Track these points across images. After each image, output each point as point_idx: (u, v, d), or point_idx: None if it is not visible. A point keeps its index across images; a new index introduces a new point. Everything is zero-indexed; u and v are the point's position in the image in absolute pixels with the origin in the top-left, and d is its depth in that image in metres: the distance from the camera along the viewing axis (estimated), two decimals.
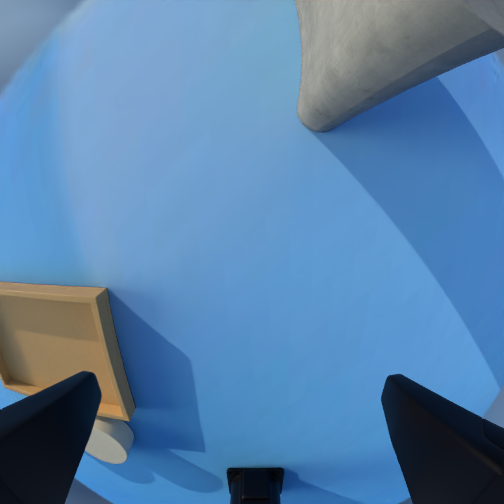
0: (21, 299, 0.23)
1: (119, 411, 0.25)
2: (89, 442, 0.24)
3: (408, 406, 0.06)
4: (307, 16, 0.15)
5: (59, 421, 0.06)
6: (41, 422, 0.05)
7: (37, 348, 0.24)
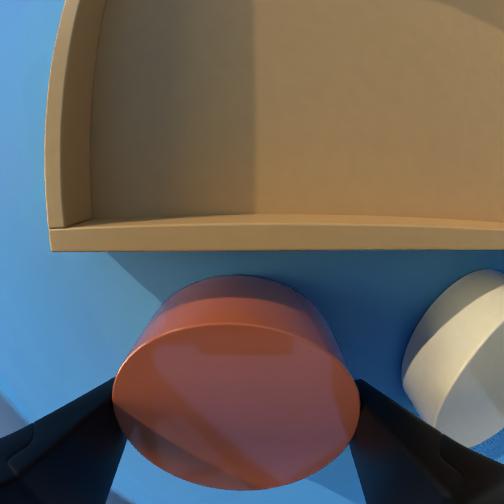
0: None
1: None
2: (488, 386, 0.06)
3: (363, 414, 0.06)
4: None
5: (97, 431, 0.06)
6: (80, 434, 0.05)
7: (359, 21, 0.06)
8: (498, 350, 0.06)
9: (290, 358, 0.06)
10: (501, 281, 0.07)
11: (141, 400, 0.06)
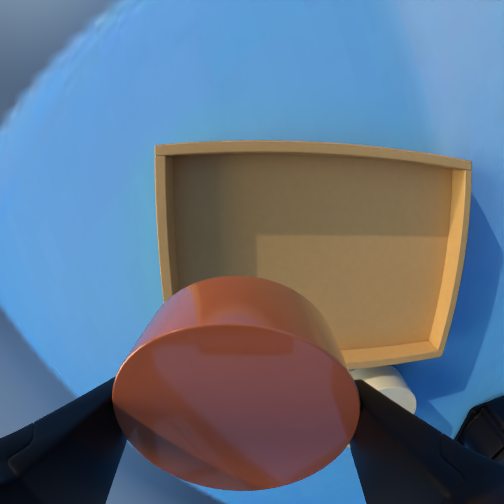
0: (305, 171, 0.16)
1: (426, 347, 0.18)
2: None
3: (363, 414, 0.06)
4: None
5: (97, 431, 0.06)
6: (80, 434, 0.05)
7: (308, 267, 0.17)
8: None
9: (290, 359, 0.06)
10: (374, 374, 0.18)
11: (141, 400, 0.06)
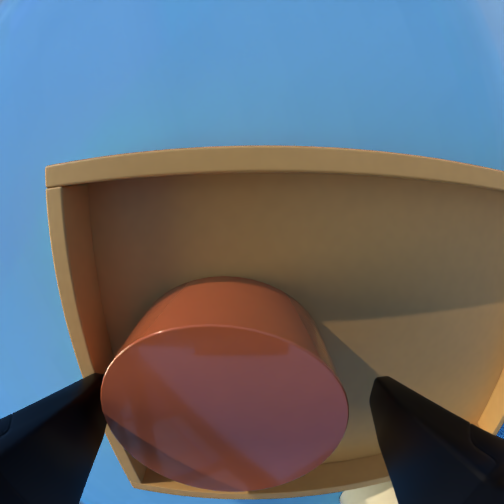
0: (337, 206, 0.08)
1: None
2: None
3: (394, 409, 0.06)
4: None
5: (72, 425, 0.06)
6: (54, 426, 0.05)
7: None
8: None
9: (275, 360, 0.06)
10: None
11: (129, 400, 0.06)
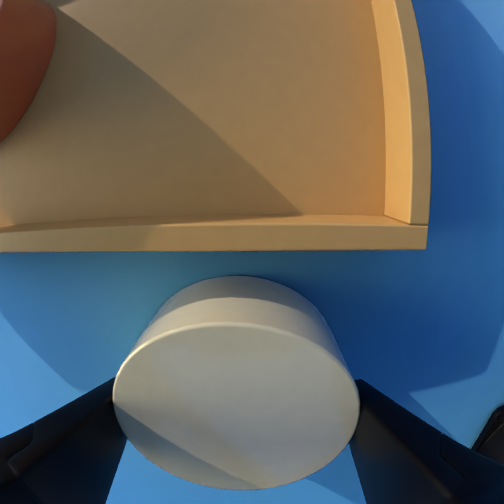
0: None
1: (375, 220, 0.07)
2: (183, 422, 0.07)
3: (363, 414, 0.06)
4: None
5: (97, 431, 0.06)
6: (80, 434, 0.05)
7: (61, 46, 0.06)
8: (163, 380, 0.06)
9: None
10: (216, 293, 0.07)
11: None
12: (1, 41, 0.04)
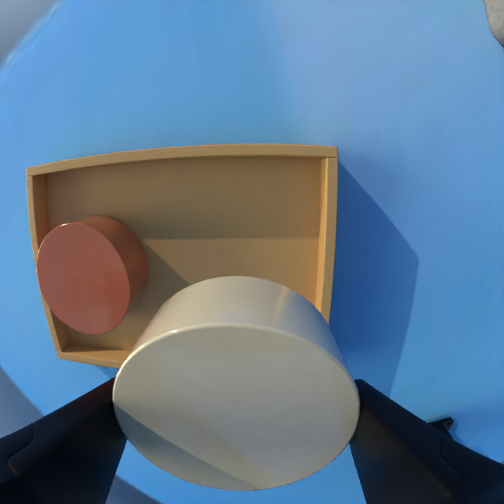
0: (143, 178, 0.16)
1: None
2: (183, 423, 0.07)
3: (363, 414, 0.06)
4: None
5: (97, 432, 0.06)
6: (80, 435, 0.05)
7: (153, 270, 0.17)
8: (163, 380, 0.06)
9: (91, 238, 0.14)
10: (216, 293, 0.07)
11: (46, 264, 0.14)
12: (133, 293, 0.15)
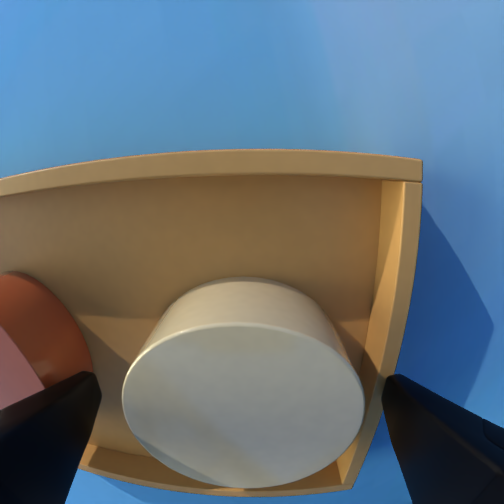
0: (65, 214, 0.08)
1: (325, 476, 0.10)
2: (191, 421, 0.07)
3: (408, 406, 0.06)
4: None
5: (59, 421, 0.06)
6: (41, 422, 0.05)
7: (98, 360, 0.10)
8: (173, 379, 0.06)
9: None
10: (225, 294, 0.08)
11: None
12: None
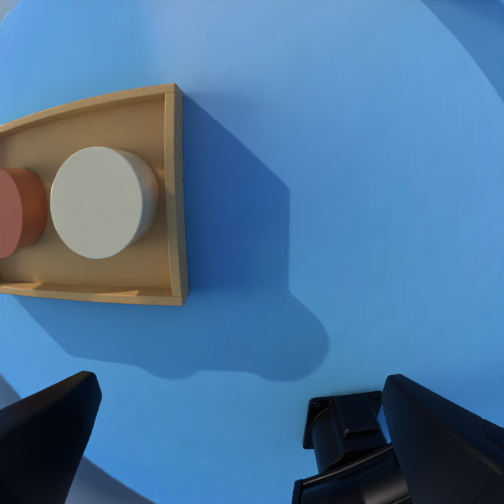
0: (46, 134, 0.17)
1: (165, 292, 0.19)
2: (73, 200, 0.15)
3: (408, 406, 0.06)
4: None
5: (59, 421, 0.06)
6: (41, 422, 0.05)
7: None
8: (69, 176, 0.15)
9: (2, 178, 0.15)
10: None
11: None
12: (26, 220, 0.16)
